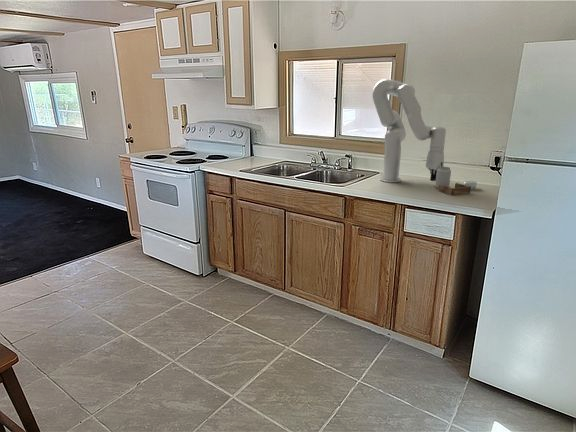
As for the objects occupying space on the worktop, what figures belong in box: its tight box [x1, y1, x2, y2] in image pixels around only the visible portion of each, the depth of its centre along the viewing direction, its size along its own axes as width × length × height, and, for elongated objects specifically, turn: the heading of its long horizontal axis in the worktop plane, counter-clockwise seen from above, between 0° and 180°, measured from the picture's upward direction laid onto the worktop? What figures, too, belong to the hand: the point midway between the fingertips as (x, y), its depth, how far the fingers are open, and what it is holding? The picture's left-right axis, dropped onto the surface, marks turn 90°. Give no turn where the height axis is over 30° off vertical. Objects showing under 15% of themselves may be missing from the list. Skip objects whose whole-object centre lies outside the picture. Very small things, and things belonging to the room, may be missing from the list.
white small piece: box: [462, 180, 478, 191], centre depth 221 cm, size 7×7×4 cm
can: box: [434, 166, 452, 190], centre depth 221 cm, size 8×8×12 cm
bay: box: [438, 182, 472, 196], centre depth 214 cm, size 10×12×4 cm
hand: (433, 180), depth 229 cm, fingers closed
